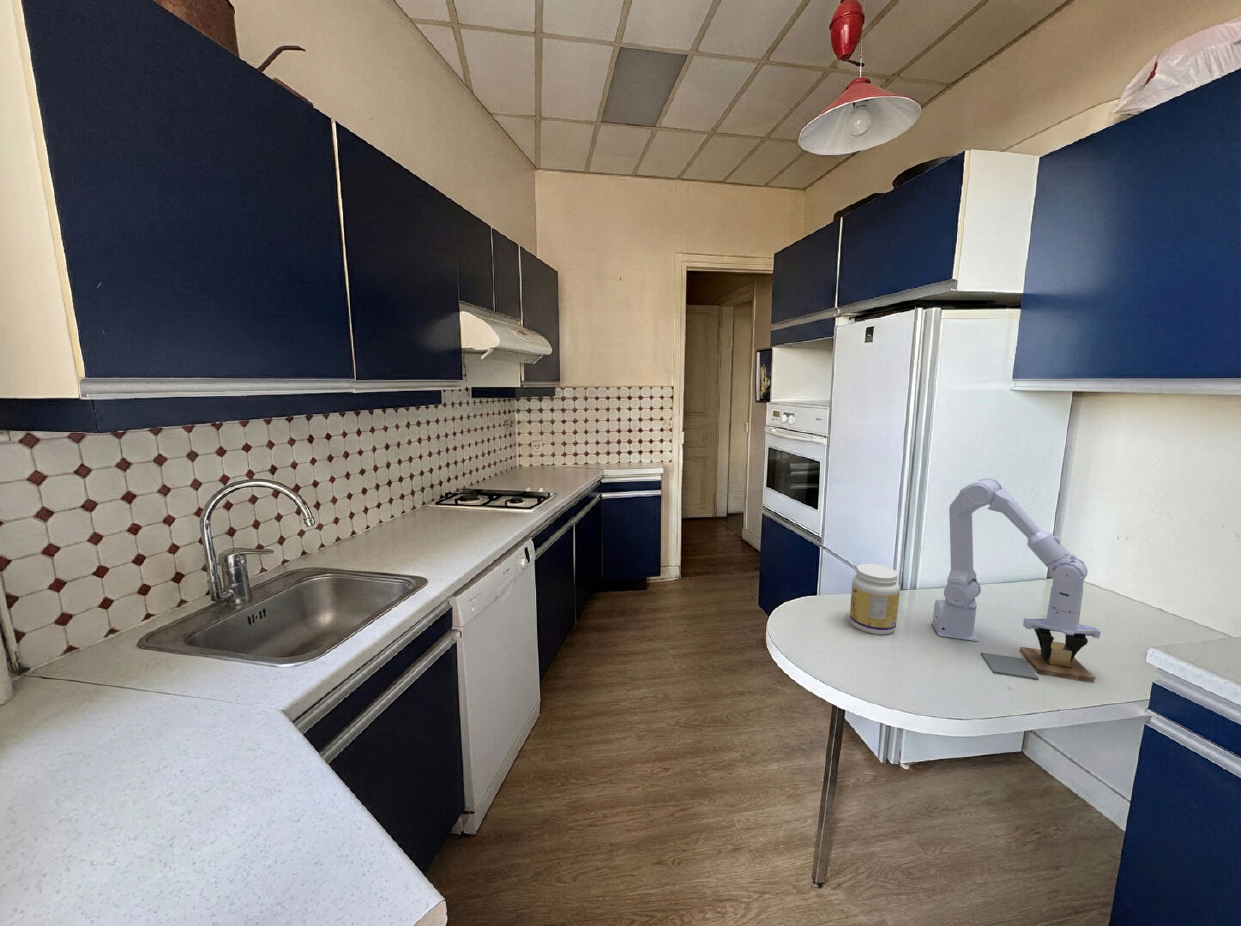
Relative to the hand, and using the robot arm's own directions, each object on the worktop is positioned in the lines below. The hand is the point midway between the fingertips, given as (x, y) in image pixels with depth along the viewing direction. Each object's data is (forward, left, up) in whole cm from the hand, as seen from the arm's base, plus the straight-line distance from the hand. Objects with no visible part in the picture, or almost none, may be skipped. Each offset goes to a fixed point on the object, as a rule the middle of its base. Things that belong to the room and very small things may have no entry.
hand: (1055, 658), depth 123 cm
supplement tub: (-40, +8, -2) cm, 41 cm away
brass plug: (0, 0, -2) cm, 2 cm away
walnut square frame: (0, 0, -2) cm, 2 cm away
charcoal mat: (-11, -4, -2) cm, 12 cm away
